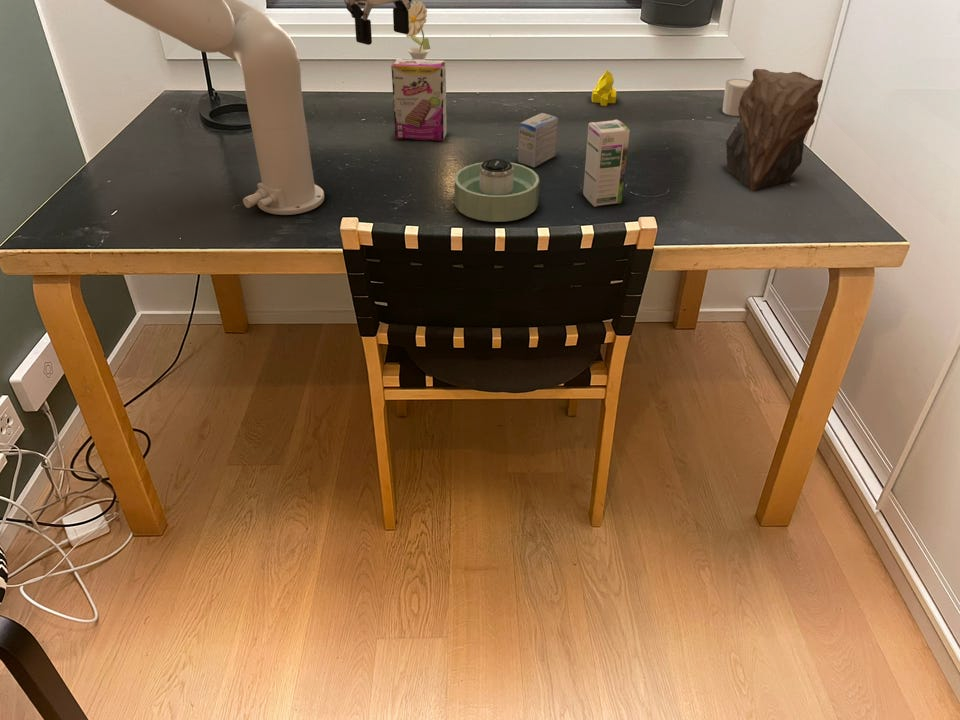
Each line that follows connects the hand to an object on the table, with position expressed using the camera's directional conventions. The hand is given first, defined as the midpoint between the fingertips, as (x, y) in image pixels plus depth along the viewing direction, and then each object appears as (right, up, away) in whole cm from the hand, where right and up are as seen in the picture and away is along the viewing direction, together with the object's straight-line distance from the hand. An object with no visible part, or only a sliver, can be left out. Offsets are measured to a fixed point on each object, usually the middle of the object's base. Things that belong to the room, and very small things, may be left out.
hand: (383, 37), depth 133 cm
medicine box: (+29, -15, +26) cm, 42 cm away
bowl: (+20, -28, +9) cm, 36 cm away
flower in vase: (+3, +4, +50) cm, 50 cm away
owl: (+73, -20, +19) cm, 78 cm away
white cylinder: (+79, +3, +50) cm, 94 cm away
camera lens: (+20, -28, +8) cm, 35 cm away
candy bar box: (+4, -7, +36) cm, 37 cm away
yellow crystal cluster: (+48, +8, +56) cm, 74 cm away
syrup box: (+41, -26, +11) cm, 50 cm away
